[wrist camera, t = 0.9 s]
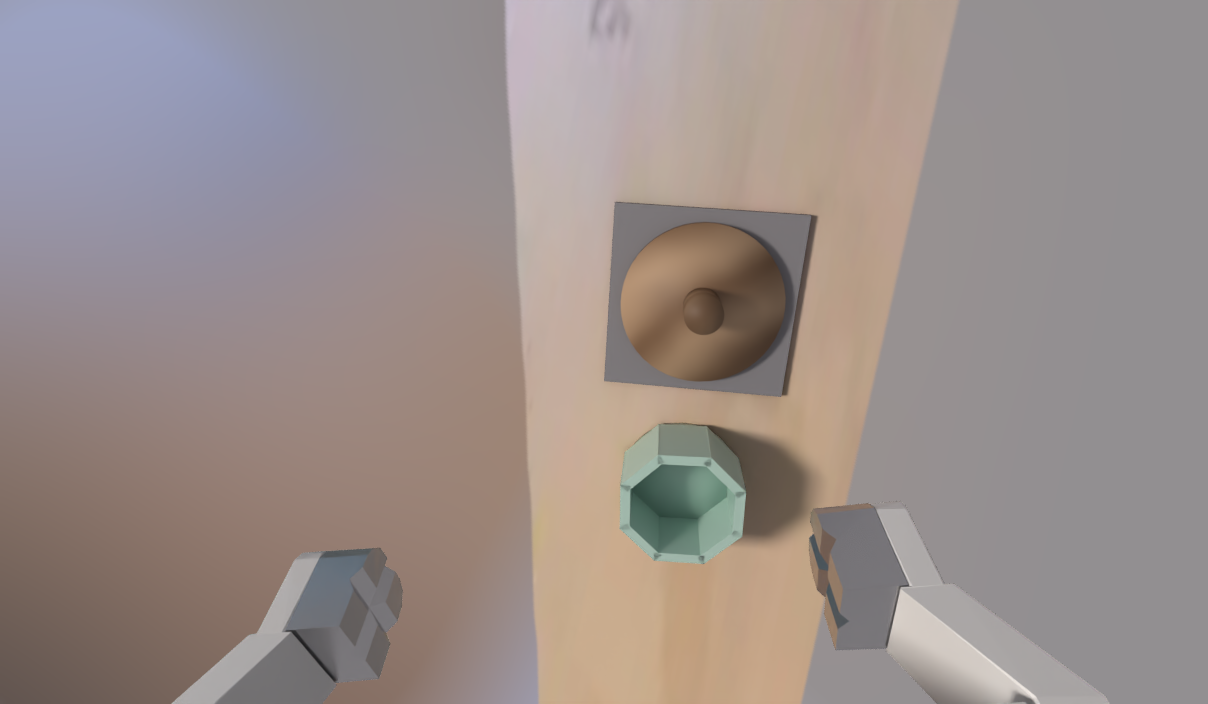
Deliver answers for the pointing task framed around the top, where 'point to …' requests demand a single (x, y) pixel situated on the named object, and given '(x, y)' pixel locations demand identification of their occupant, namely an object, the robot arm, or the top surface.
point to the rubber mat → (770, 229)
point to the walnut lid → (702, 301)
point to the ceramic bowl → (682, 494)
